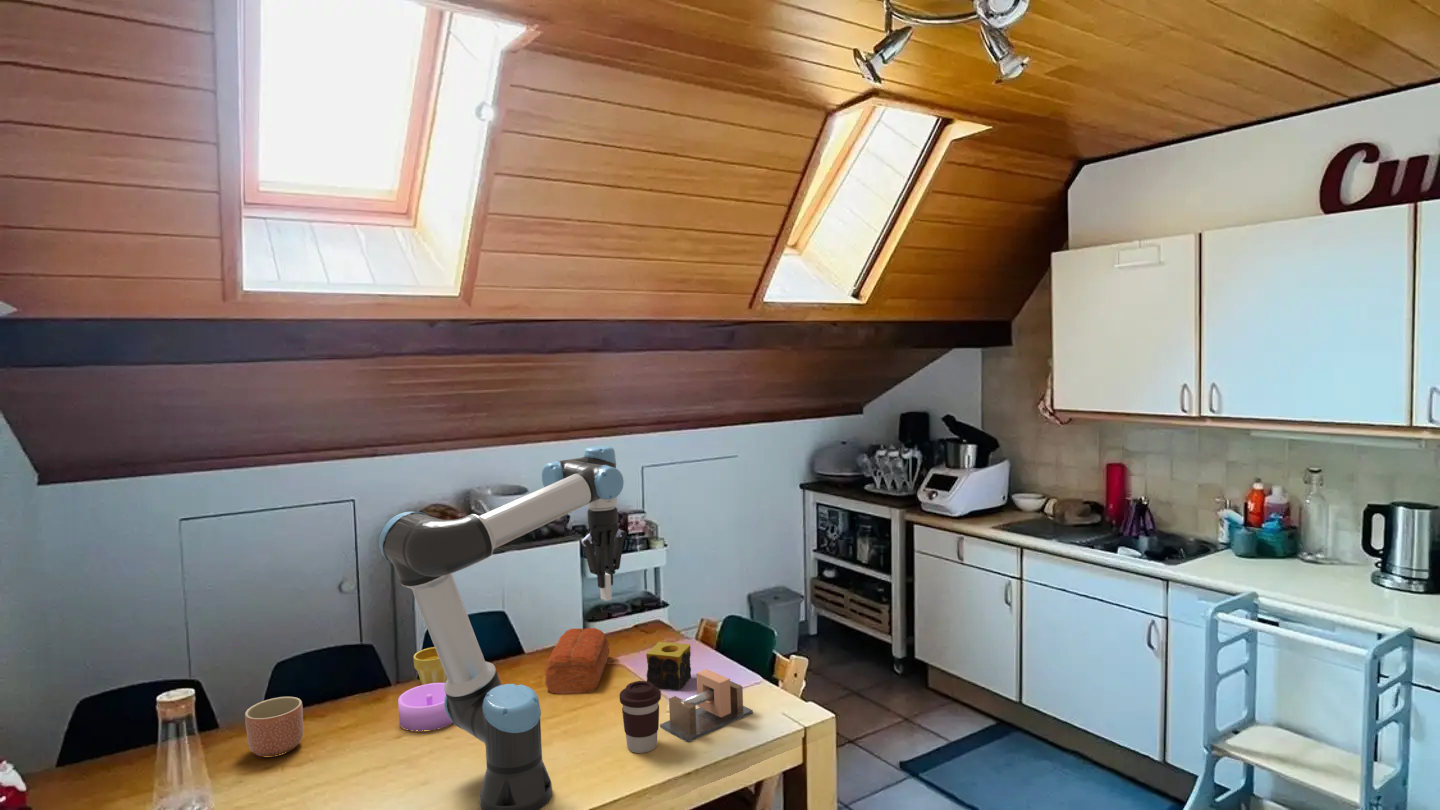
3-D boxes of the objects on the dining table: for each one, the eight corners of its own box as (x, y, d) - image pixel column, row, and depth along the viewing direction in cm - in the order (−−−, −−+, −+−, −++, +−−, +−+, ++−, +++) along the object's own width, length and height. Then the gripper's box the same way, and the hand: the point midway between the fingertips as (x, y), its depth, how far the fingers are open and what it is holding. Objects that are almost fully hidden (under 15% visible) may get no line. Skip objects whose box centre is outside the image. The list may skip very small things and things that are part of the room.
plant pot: (413, 682, 242) (411, 650, 241) (450, 675, 246) (449, 643, 245) (417, 696, 232) (415, 662, 231) (455, 689, 237) (453, 655, 236)
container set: (397, 736, 209) (394, 686, 208) (401, 710, 224) (398, 663, 223) (499, 720, 217) (497, 671, 216) (497, 696, 231) (495, 650, 230)
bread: (611, 656, 258) (610, 623, 257) (598, 694, 231) (596, 657, 230) (561, 657, 258) (560, 624, 257) (542, 695, 231) (540, 658, 230)
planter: (315, 744, 206) (312, 702, 205) (267, 768, 195) (263, 723, 194) (286, 733, 212) (283, 692, 211) (237, 755, 202) (233, 712, 201)
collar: (720, 717, 210) (719, 683, 209) (697, 706, 217) (696, 672, 216) (730, 712, 213) (729, 678, 212) (707, 701, 219) (706, 668, 218)
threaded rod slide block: (687, 742, 202) (686, 711, 201) (660, 727, 210) (659, 697, 209) (752, 712, 217) (752, 683, 216) (724, 699, 225) (723, 671, 224)
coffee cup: (656, 758, 195) (654, 696, 194) (616, 755, 197) (613, 694, 196) (667, 737, 205) (665, 679, 203) (628, 735, 207) (626, 676, 205)
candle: (646, 688, 234) (644, 653, 233) (659, 673, 243) (657, 640, 242) (680, 692, 231) (679, 657, 230) (691, 677, 240) (690, 643, 239)
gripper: (588, 514, 202) (592, 608, 204) (632, 505, 210) (635, 596, 213) (572, 509, 207) (576, 601, 209) (615, 501, 216) (618, 590, 218)
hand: (606, 599), depth 211 cm, fingers closed
